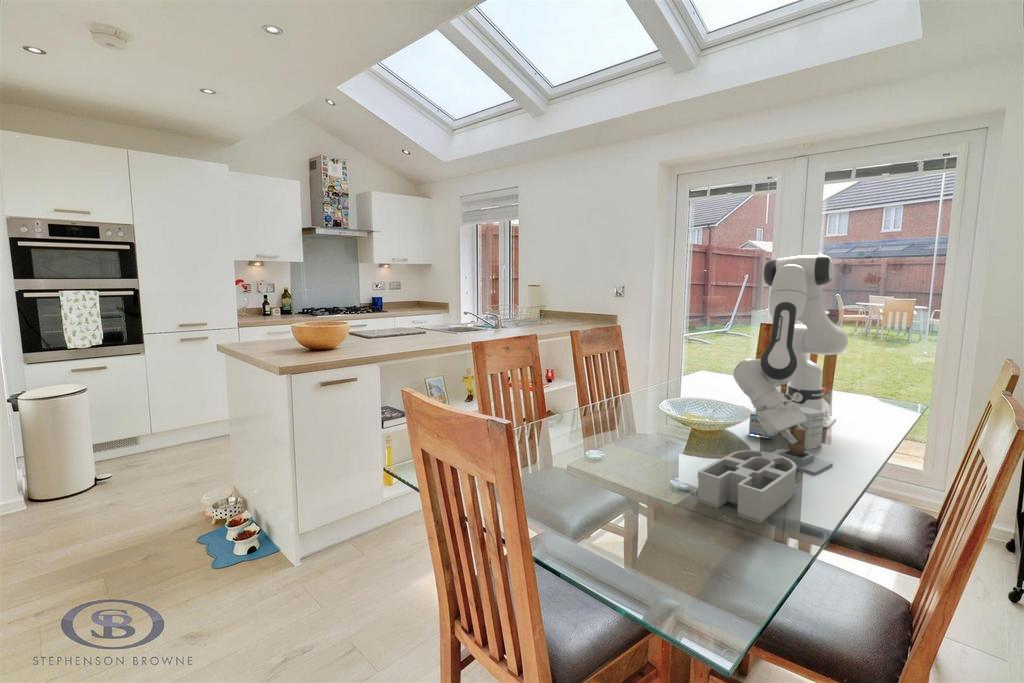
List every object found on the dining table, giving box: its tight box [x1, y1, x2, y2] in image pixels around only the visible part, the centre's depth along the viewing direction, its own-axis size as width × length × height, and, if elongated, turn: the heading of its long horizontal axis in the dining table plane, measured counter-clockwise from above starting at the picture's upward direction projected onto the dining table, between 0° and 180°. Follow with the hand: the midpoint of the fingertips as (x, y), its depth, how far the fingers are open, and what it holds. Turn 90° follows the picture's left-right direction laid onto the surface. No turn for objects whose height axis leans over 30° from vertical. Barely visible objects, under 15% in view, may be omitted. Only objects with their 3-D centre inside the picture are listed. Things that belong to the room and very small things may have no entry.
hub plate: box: [770, 448, 833, 477], centre depth 155 cm, size 12×16×3 cm
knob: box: [789, 427, 806, 456], centre depth 154 cm, size 4×4×8 cm
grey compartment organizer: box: [697, 449, 797, 525], centre depth 132 cm, size 17×28×9 cm, turn 131°
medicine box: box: [748, 411, 774, 438], centre depth 180 cm, size 8×4×9 cm, turn 62°
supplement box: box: [788, 407, 824, 450], centre depth 170 cm, size 7×7×13 cm
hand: (799, 441), depth 154 cm, fingers closed on knob, 4 cm apart
